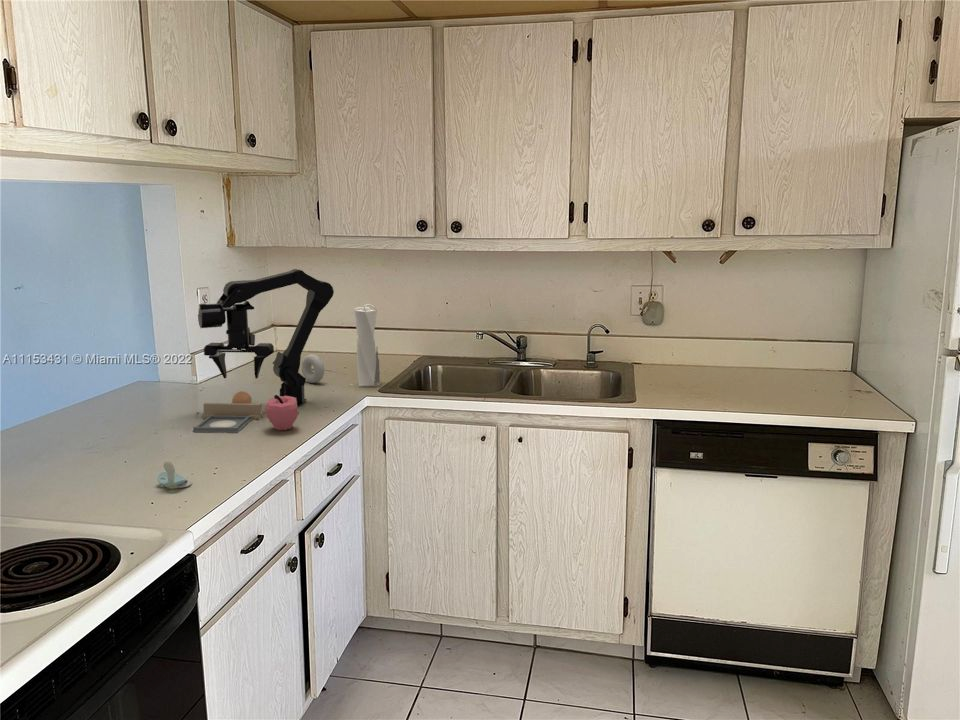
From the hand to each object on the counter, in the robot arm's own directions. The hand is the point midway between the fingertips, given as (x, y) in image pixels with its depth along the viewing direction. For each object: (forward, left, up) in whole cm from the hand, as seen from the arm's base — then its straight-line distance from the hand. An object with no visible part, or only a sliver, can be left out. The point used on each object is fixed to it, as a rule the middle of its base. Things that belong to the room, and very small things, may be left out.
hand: (240, 378), depth 211 cm
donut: (-13, -34, -10) cm, 38 cm away
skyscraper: (-32, -32, -10) cm, 46 cm away
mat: (0, +16, -10) cm, 19 cm away
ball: (0, 0, -7) cm, 7 cm away
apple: (-17, +18, -10) cm, 27 cm away
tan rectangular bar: (0, +8, -10) cm, 12 cm away
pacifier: (-5, +59, -10) cm, 60 cm away
